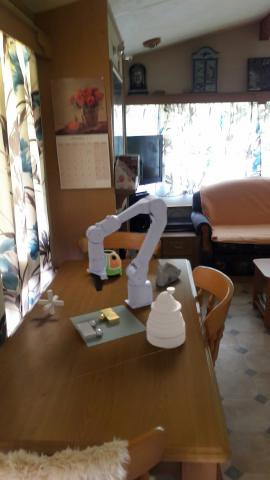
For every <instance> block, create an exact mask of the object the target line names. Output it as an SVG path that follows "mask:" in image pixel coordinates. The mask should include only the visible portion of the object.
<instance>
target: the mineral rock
mask: <svg viewBox="0 0 270 480" xmlns="http://www.w3.org/2000/svg"><path fill="white" fill-rule="evenodd" d="M181 272H182V269H180V268H178V267H176V265H174V264H172V263H169V262H165V263H164V264H162V265H160V266H159V265H158V266H157V267H156V279H155V285H157V286H158V287H165V286H166V285H167V286H168V285H169V284H171V283H172V282H174V281H177V280H178V279H179V278H180V277H179V276H180V275H181Z"/></svg>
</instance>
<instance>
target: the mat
mask: <svg viewBox="0 0 270 480" xmlns="http://www.w3.org/2000/svg"><path fill="white" fill-rule="evenodd" d="M110 308H111V309H112V310H113V311H114V312H115V313H116V314H117V315H118V316H119V317H120V323H116V324H113V325H109V324H108V323H107V321H106V320H105V321H104V322H100V320H99V319H98V315H99V314H101V310H97V311H93V312H89V313H86V314H85V313H84V314H82V315H77V316H73V317H69V320H70V321H71V323H72V325H73V326H74V328H75V329H76V330H77V332H78V334H79V336H80V337H81V338H82V340H83V341H84V343H85V345H86V346H87V347H88V348H89V347H93V346H97V345H100V344H103V343H107V342H111V341H113V340H117V339H120V338H124V337H127V336H131V335H135V334H138V333H141V332H146V331H147V328H146V327H147V326H145V325H144V324H143V323H142V322H141V321H140V320H139V319H138V318H137V317H136V316H135V314H133V313H132V312H131V310H129V309H128V308H127V307H126V306H125V305H123V304H121V305H117V306H113V307H110ZM90 320H94V321H95V322H96V324H97V326H96V328H100V329H101V330H102V331H103V336H102V337H100V338H99V337H97V338H96V339H93V340H89V341H86V342H85V340H84V339H83V337H82V336H81V334H80V333H79V331H78V329H77V324H80V323H84V322H89V321H90ZM96 328H94V331H95V329H96Z"/></svg>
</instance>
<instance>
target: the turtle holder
mask: <svg viewBox="0 0 270 480" xmlns="http://www.w3.org/2000/svg"><path fill="white" fill-rule="evenodd" d="M104 263H105V271H106V274H107V279H106V280H109V277H108V276H115V275H119V276H122V275H123V274H122V260H121V258H120V256H119V254H117V252H115V251H114V250H111V249H106V250H104Z"/></svg>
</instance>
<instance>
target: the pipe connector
mask: <svg viewBox="0 0 270 480" xmlns="http://www.w3.org/2000/svg"><path fill="white" fill-rule="evenodd" d="M46 293H47V299H37V305H43V307H42V310H43V311H44V312H46V311H48V310H49V315H50V316H51V315H52V316H53V315H55V307H54V306H64V304H65V302H64V300H59V296H58V295H53V290H52V289H48V290H47V291H46Z"/></svg>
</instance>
